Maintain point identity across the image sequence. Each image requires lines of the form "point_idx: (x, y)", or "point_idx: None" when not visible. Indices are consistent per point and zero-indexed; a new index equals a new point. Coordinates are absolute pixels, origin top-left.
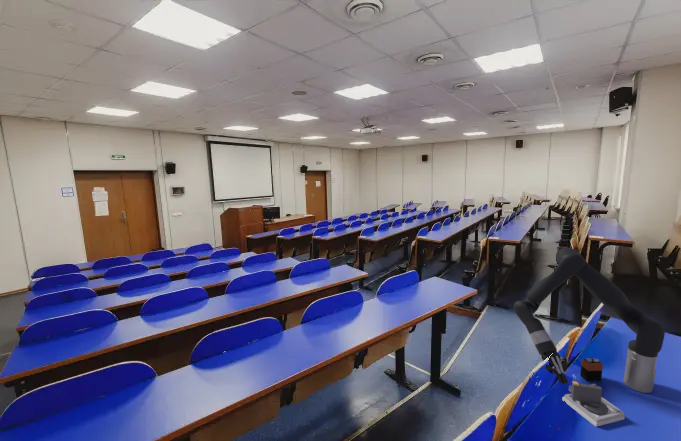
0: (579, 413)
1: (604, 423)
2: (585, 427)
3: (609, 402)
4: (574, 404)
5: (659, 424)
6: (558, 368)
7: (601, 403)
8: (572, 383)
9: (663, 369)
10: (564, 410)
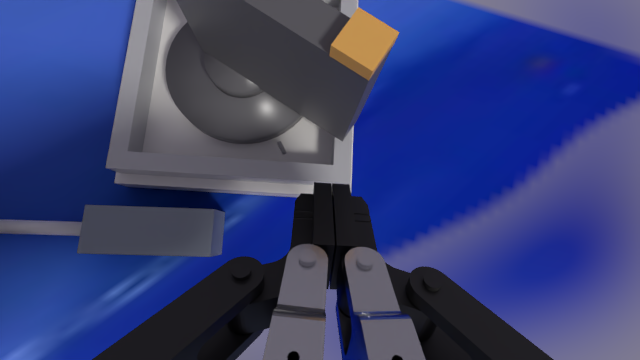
0: None
1: None
2: (408, 25)
3: (131, 36)
4: None
5: None
6: (353, 307)
7: (187, 53)
8: (366, 85)
9: None
10: (410, 135)
